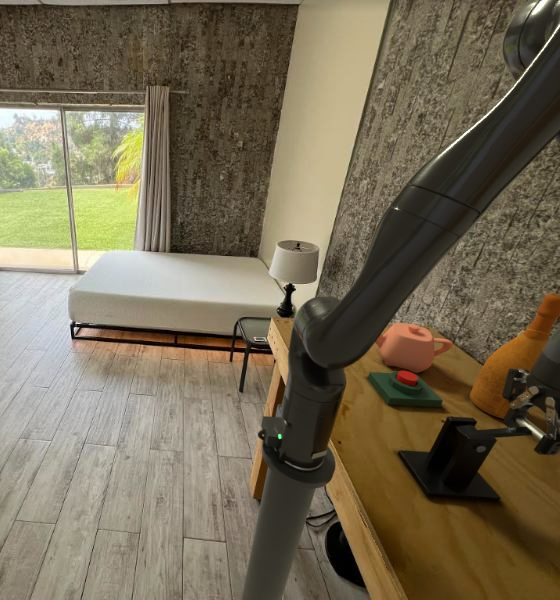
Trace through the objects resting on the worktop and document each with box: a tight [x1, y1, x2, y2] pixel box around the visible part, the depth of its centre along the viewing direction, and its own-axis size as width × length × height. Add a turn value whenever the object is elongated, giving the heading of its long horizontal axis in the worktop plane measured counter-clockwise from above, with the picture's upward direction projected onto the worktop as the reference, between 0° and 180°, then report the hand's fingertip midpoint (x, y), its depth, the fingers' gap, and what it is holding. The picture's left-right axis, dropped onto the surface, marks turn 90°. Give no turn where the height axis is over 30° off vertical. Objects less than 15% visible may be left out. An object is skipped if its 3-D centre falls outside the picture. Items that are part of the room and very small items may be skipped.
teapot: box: [374, 322, 454, 374], centre depth 91 cm, size 13×20×12 cm, turn 58°
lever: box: [453, 416, 547, 443], centre depth 55 cm, size 12×5×2 cm, turn 85°
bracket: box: [397, 416, 502, 503], centre depth 58 cm, size 12×9×13 cm
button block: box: [367, 370, 444, 408], centre depth 81 cm, size 12×10×4 cm
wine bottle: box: [469, 292, 560, 420], centre depth 70 cm, size 10×10×30 cm
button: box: [396, 370, 418, 386], centre depth 80 cm, size 4×4×2 cm
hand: (526, 438), depth 55 cm, fingers closed on lever, 5 cm apart
